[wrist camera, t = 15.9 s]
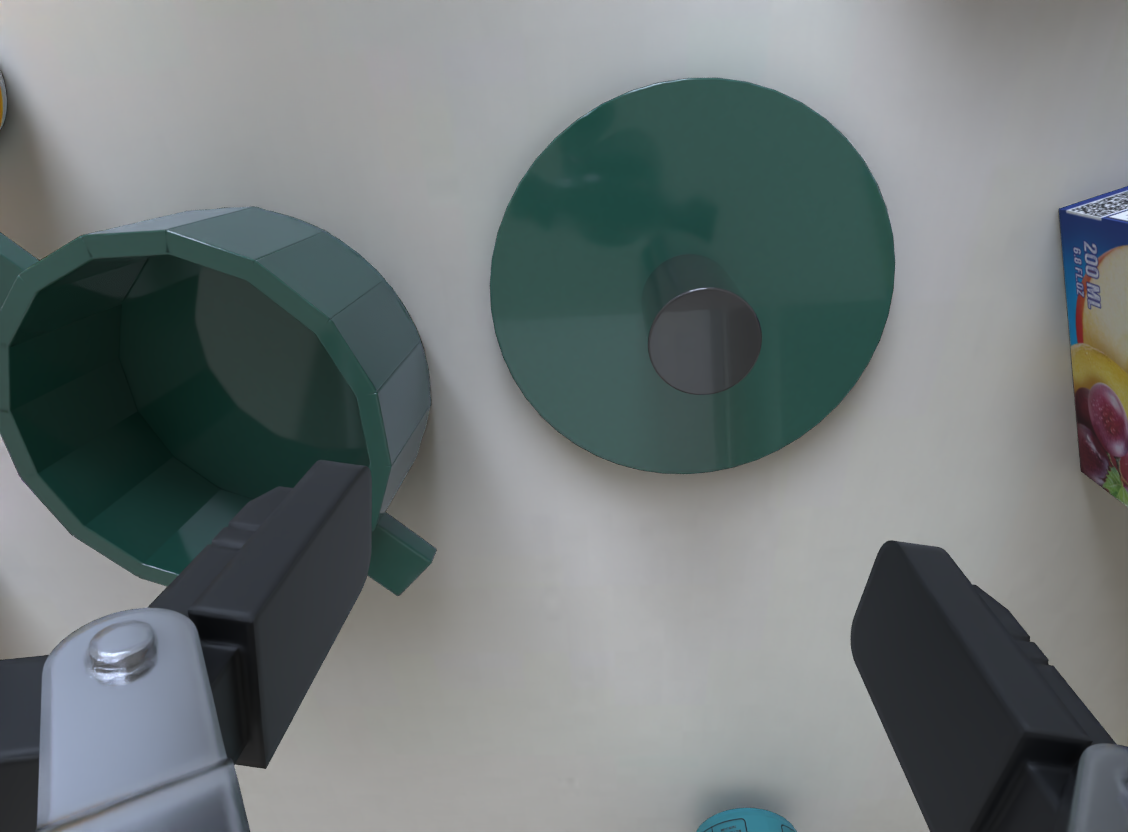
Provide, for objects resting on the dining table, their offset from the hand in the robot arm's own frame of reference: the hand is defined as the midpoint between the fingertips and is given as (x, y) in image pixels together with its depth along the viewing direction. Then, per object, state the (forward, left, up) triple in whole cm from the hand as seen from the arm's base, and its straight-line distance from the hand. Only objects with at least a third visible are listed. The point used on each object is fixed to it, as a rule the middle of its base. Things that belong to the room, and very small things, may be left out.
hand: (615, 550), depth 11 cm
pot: (+13, -9, -19) cm, 24 cm away
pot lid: (-2, +2, -18) cm, 18 cm away
